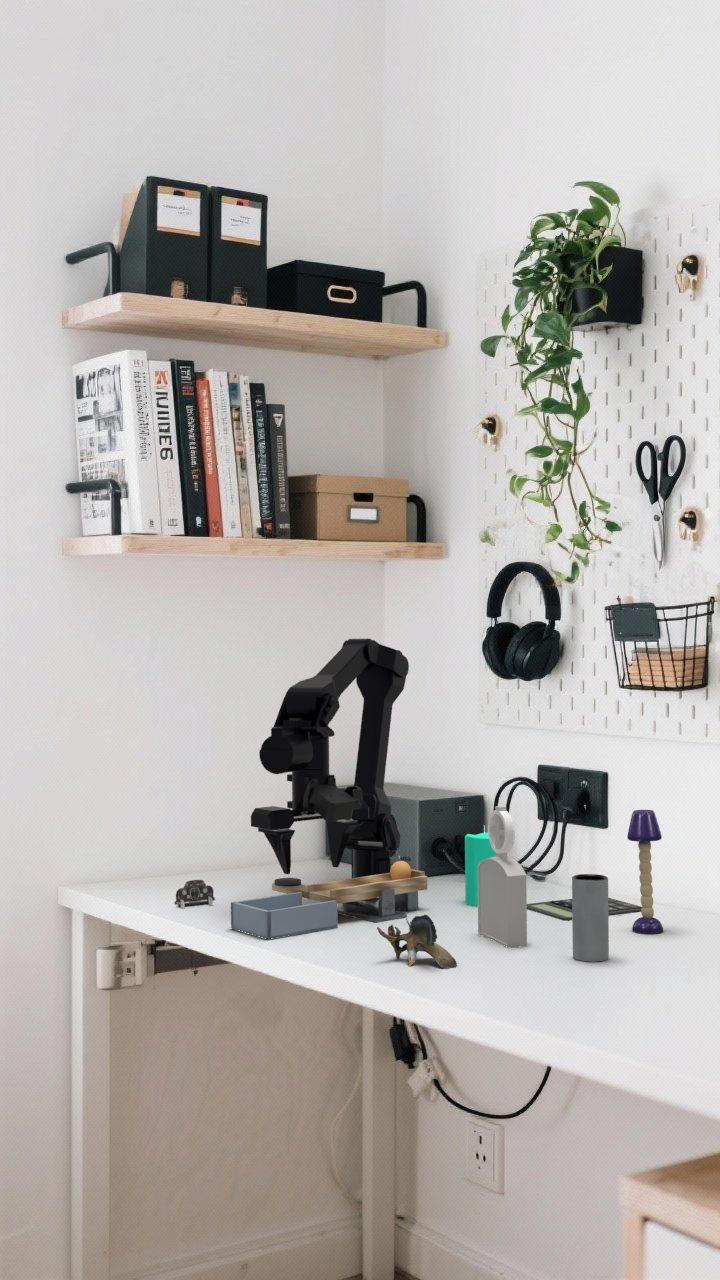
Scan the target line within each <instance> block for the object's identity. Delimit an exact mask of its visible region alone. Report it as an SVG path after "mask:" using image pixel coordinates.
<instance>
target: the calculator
mask: <svg viewBox="0 0 720 1280" xmlns="http://www.w3.org/2000/svg"><path fill="white" fill-rule="evenodd" d="M641 909H642V905H640V906H639V905H636V904H633V903H630V902H625V901H623V900H619V899H615V898H612V897H608V916H609V917H610V916H618V915H625V914H634V913H641ZM527 911H532V912H535V913H538V914H541V915H544V916H548V917H551V918H555V919H557V920H561V921H564V922H568V921H572V898H570V899H569V898H567V899H559V900H550V901H548V900H547V901H540V902H535V903H534V902H533V903H531V902H530V903H527Z"/></svg>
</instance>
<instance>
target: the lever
mask: <svg viewBox="0 0 720 1280" xmlns="http://www.w3.org/2000/svg"><path fill="white" fill-rule="evenodd" d="M384 889H395V895H396V894H402V893H408V892H415V891H418V892H420V891H427V890H428V876H427V875H426V873H425V871H422V870H419V869H418V870H417V869H414V868H411V876H410V878H406V879H399V880H394V879H393V878H392V877H391V874H390V873H385V874H378V875H372V876H365V877H358V878H352V877H351V878H345V879H339V880H333V881H325V882H319V883H318V882H317V883H311V884H307V885H306V884H302V879H301V878H297V877H282V878H280V877H279V878H276V879H274V882H273V883H271V891H273V892H277V893H278V892H279V893H283V894H290V893H297V892H302V899H307V900H311V901H316V902H318V903H321V902H327V901H333V900H336V901H337V905H339V904H343V903H346V902H353V901H359V900H365V899H371V898H378V890H384Z"/></svg>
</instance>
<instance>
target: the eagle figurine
mask: <svg viewBox="0 0 720 1280" xmlns="http://www.w3.org/2000/svg"><path fill="white" fill-rule="evenodd" d="M405 921H406V923H407V926H408V929H409V930H408V932H407V933H402V931H401V930H400V929H399V928H398V927H397V926H394V925H393V924H391V925H389V926H388V927H387V933H386V932H385V931H383V930H382V929H381V928H380V927H379V926H377V927H376V930H377V931H378V933H379V935H380V936H381V937H383V938H384V939H386V940H387V941H388V942H389V943H390V946H391V947H393V950H394V953H395V957H396V959H400V958H401V955H402V953H403V952H405V951H406V952H407V957H408V965H407V967H411V966H412V965H413V964H414V963H415V962H416V958H417V954H418V952H424V953H427V954H428V955H429V956H431V957H432V959H434V960H435V962H436V963H437V965H439V967H441V968H445V969H450V968H453V969H456V968H457V967H458V962H457V960H456V959H455V958H454V957H453V956H452V955H451V953H450V952H449V951H448V950H446V948H444V947H442V945H440V944H438V943H436V942H437V939H438V935H437V929H436V925H435V924H434V921H433V920H432V918H431V917H430V916H429V915H428V914H424V915H421V916H420V915H419V916H417V915H415V916H414V917H413V918H412V920H411V921H410V919H408V917H405ZM395 930H396V931H395ZM401 933H402V934H401ZM401 941H404V942H406V943H405V944H403V945H402V946H400V943H401Z"/></svg>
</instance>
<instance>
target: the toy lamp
mask: <svg viewBox="0 0 720 1280" xmlns="http://www.w3.org/2000/svg"><path fill="white" fill-rule="evenodd" d="M627 840H628V841H631V842H637V845H638V846H637V847H638V850H639V852H638V859H639V865H638V870H639V872H640V874H639V882H640V887H639V891H640V894H641V896H640V904H641V905H640V906H641V907H642V909H641V912H640V913H641V917H639V918H637V919H636V920H634V921H633V924H632V928H631V931H632V932H634V933H636V934H643V935H644V934H645V935H653V934H660V933H662V932H664V926H663V924H662V922H661V921H660V920H659V919H657V918H656V917H654V915H655V912H654V907H653V905H654V897H653V893H654V889H653V885H652V882H653V876H652V863H651V861H652V854H651V849H652V843H651V842H658V841H661V840H662V833H661V830H660V826H659V821H658V819H657V816H656V812H655V811H654V810H652V809H636V810H635V809H634V811H633V812H632V814H631V817H630V822H629V827H628V831H627Z"/></svg>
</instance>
